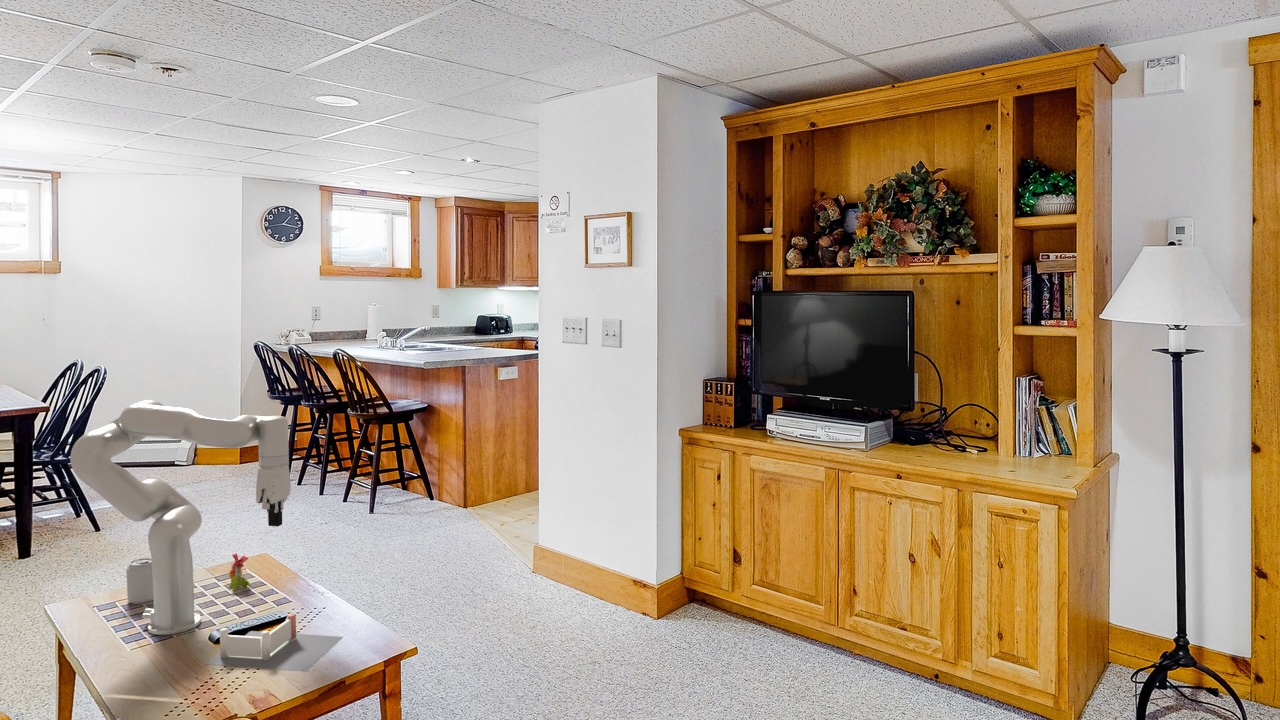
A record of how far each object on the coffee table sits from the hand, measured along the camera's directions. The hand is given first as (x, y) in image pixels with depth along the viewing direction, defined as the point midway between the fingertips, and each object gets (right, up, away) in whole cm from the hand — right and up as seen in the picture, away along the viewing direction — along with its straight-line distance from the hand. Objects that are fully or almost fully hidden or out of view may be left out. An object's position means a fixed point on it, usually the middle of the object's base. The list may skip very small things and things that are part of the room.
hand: (275, 525), depth 218 cm
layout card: (+9, -29, -17) cm, 35 cm away
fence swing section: (+9, -28, -16) cm, 33 cm away
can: (-46, -25, +14) cm, 54 cm away
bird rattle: (-24, -25, +25) cm, 42 cm away
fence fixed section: (+3, -29, -22) cm, 36 cm away
